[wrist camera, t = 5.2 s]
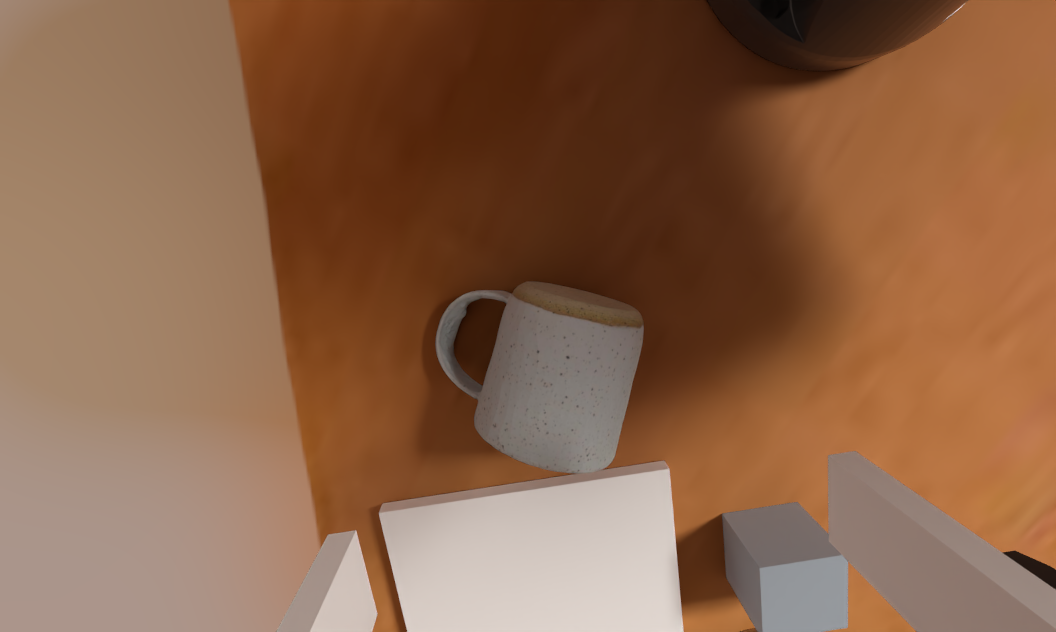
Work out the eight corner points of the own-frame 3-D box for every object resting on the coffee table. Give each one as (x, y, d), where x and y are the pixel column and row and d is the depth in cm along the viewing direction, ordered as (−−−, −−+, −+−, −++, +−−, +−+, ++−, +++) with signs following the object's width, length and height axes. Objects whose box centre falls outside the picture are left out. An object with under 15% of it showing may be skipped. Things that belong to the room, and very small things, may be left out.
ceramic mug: (633, 295, 29) (674, 326, 21) (598, 422, 30) (626, 493, 23) (454, 256, 28) (430, 274, 20) (429, 389, 29) (399, 451, 22)
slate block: (796, 501, 32) (848, 554, 27) (797, 565, 33) (847, 627, 28) (721, 512, 32) (759, 568, 27) (725, 576, 33) (762, 640, 28)
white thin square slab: (664, 460, 31) (669, 468, 30) (684, 685, 35) (689, 699, 34) (382, 503, 31) (378, 513, 30) (435, 724, 35) (433, 739, 34)
